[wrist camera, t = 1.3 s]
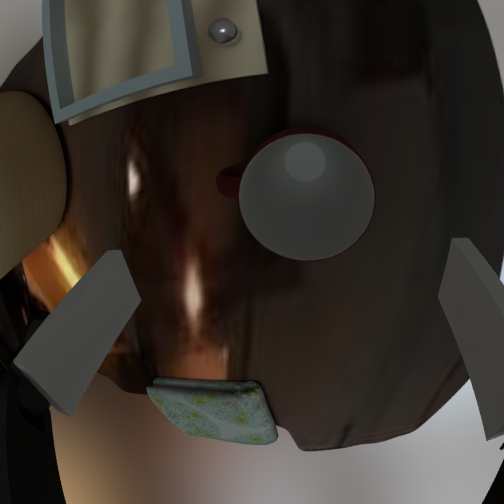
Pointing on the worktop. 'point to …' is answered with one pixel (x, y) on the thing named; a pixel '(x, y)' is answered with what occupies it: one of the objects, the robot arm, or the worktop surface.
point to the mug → (303, 194)
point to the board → (153, 45)
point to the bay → (69, 109)
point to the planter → (28, 177)
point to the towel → (216, 409)
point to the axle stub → (224, 32)
